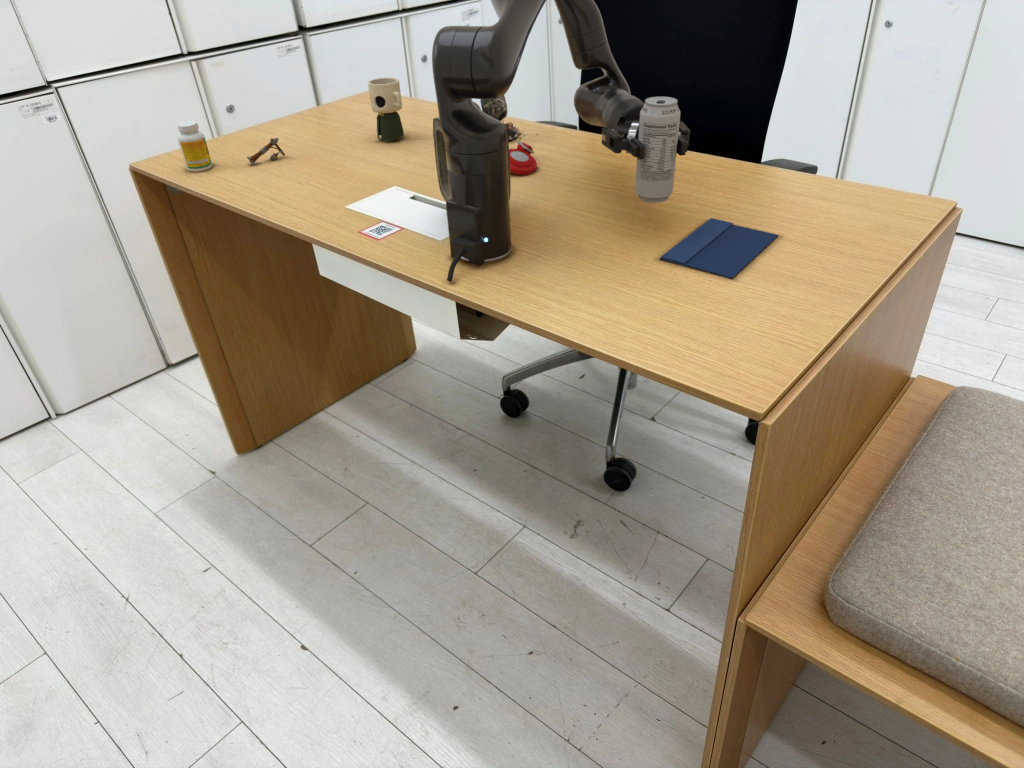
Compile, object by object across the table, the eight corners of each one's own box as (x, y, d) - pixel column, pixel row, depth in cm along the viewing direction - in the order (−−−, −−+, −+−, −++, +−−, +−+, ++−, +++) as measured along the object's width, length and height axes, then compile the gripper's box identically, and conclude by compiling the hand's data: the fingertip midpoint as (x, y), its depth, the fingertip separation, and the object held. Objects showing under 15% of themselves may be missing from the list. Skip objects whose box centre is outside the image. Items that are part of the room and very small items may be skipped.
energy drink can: (673, 191, 117) (683, 96, 108) (670, 205, 112) (679, 106, 103) (636, 189, 118) (643, 94, 110) (632, 202, 114) (638, 105, 105)
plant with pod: (471, 141, 164) (464, 47, 153) (503, 128, 171) (498, 38, 160) (498, 147, 160) (493, 50, 148) (529, 134, 167) (527, 41, 155)
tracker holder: (542, 169, 143) (494, 161, 141) (536, 188, 147) (489, 180, 144) (535, 138, 151) (489, 130, 149) (530, 156, 155) (485, 149, 152)
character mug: (365, 138, 169) (356, 80, 162) (388, 131, 173) (380, 74, 166) (393, 147, 163) (385, 87, 155) (417, 139, 167) (410, 80, 159)
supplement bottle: (183, 168, 157) (170, 123, 151) (207, 162, 159) (195, 118, 154) (192, 174, 153) (178, 128, 148) (216, 168, 156) (203, 123, 150)
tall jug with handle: (440, 212, 130) (425, 65, 116) (487, 203, 133) (478, 59, 118) (464, 242, 119) (451, 84, 105) (514, 232, 122) (509, 77, 107)
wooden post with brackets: (289, 152, 159) (277, 135, 156) (261, 174, 158) (248, 158, 155) (286, 151, 161) (274, 134, 157) (258, 172, 159) (245, 156, 156)
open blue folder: (732, 279, 105) (733, 275, 104) (659, 259, 111) (659, 256, 111) (778, 236, 116) (778, 233, 116) (709, 220, 122) (710, 217, 122)
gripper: (588, 101, 119) (619, 130, 105) (670, 94, 121) (710, 121, 107) (587, 146, 123) (616, 179, 110) (666, 139, 125) (704, 170, 112)
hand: (663, 150), depth 109 cm, fingers closed on energy drink can, 6 cm apart
